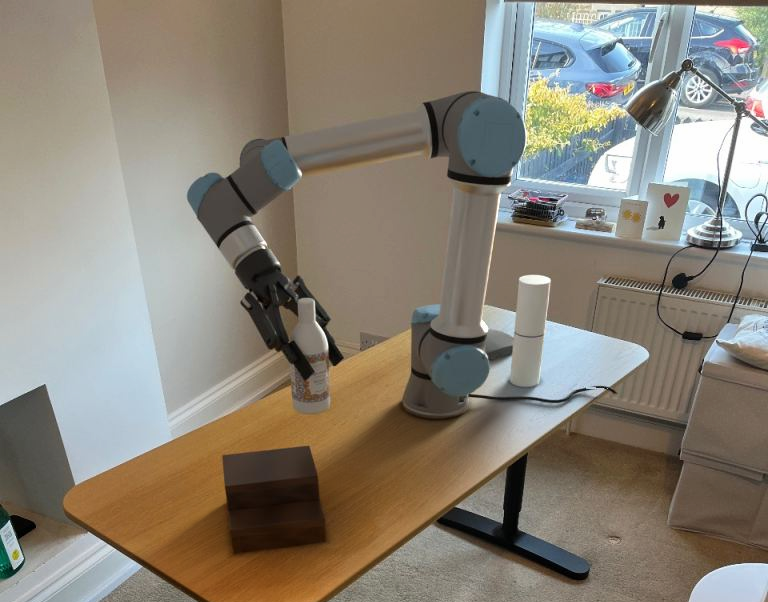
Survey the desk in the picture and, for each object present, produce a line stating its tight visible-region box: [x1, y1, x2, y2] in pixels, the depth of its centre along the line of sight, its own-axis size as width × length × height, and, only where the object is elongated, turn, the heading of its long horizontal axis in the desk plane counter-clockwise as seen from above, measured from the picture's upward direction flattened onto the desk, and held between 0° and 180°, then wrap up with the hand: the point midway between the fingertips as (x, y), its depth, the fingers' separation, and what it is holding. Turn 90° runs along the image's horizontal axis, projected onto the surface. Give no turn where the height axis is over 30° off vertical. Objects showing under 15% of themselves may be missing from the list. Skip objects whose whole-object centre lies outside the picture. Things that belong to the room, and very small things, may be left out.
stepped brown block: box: [221, 445, 327, 555], centre depth 136 cm, size 16×17×10 cm
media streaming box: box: [485, 328, 514, 360], centre depth 205 cm, size 15×15×3 cm
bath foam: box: [289, 298, 331, 415], centre depth 135 cm, size 7×7×20 cm
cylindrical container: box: [509, 274, 552, 388], centre depth 181 cm, size 7×7×25 cm
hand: (324, 369), depth 134 cm, fingers closed on bath foam, 7 cm apart
